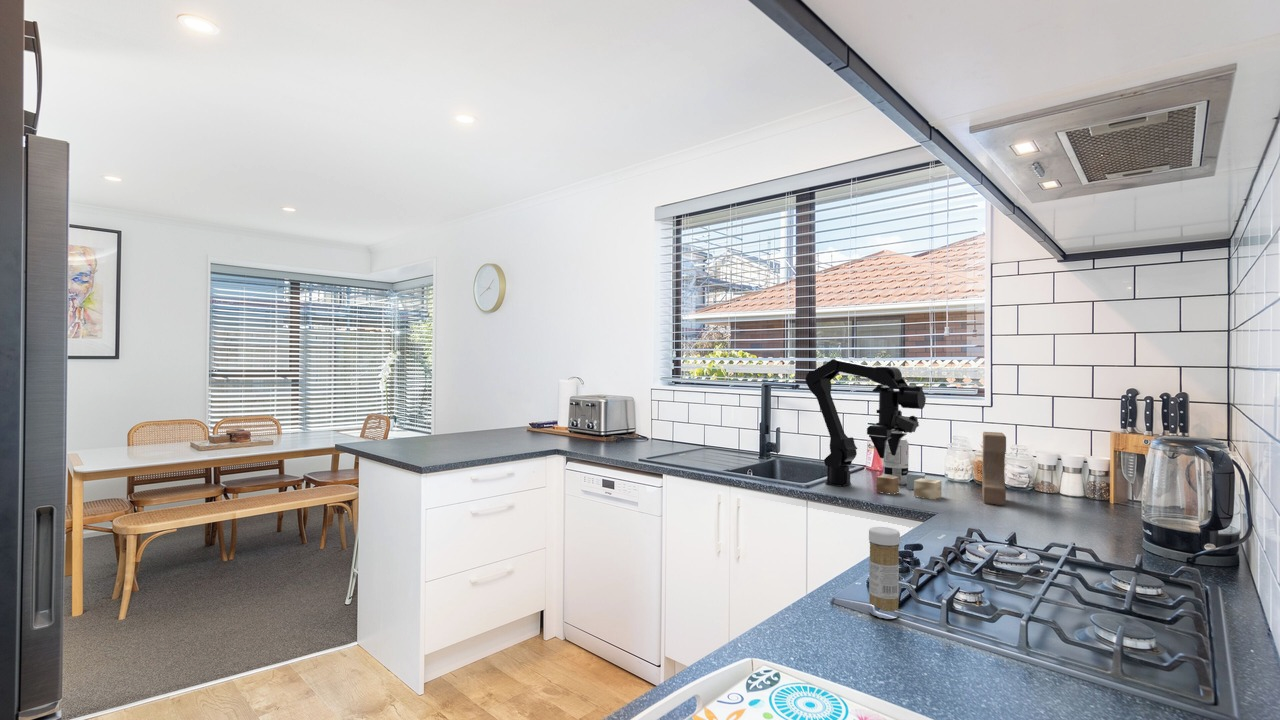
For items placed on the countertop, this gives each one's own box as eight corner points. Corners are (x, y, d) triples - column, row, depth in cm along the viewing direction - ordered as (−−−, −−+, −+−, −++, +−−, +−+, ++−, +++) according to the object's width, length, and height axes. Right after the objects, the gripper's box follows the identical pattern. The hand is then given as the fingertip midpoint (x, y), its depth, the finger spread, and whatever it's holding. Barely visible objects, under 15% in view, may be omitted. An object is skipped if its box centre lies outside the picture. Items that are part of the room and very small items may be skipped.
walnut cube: (876, 492, 193) (876, 476, 193) (882, 490, 197) (883, 474, 197) (892, 495, 190) (892, 478, 190) (898, 492, 194) (898, 476, 194)
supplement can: (877, 480, 214) (878, 437, 214) (900, 480, 215) (900, 437, 215) (889, 484, 206) (890, 440, 206) (913, 484, 207) (913, 440, 207)
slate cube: (906, 489, 199) (907, 474, 199) (908, 487, 204) (908, 471, 204) (923, 491, 197) (923, 475, 197) (924, 488, 201) (925, 473, 201)
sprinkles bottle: (896, 611, 99) (897, 526, 99) (901, 622, 94) (902, 534, 94) (866, 608, 100) (867, 524, 100) (870, 619, 95) (871, 532, 95)
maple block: (913, 497, 188) (914, 480, 188) (920, 494, 192) (921, 478, 192) (934, 500, 184) (934, 483, 184) (941, 497, 188) (941, 480, 188)
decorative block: (1005, 506, 177) (1006, 436, 177) (982, 503, 179) (983, 434, 179) (1003, 498, 186) (1004, 432, 187) (982, 496, 189) (982, 431, 189)
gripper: (903, 410, 181) (902, 463, 181) (926, 407, 195) (925, 456, 195) (866, 407, 189) (865, 458, 189) (890, 405, 203) (889, 452, 203)
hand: (887, 456), depth 194 cm, fingers open, 9 cm apart
